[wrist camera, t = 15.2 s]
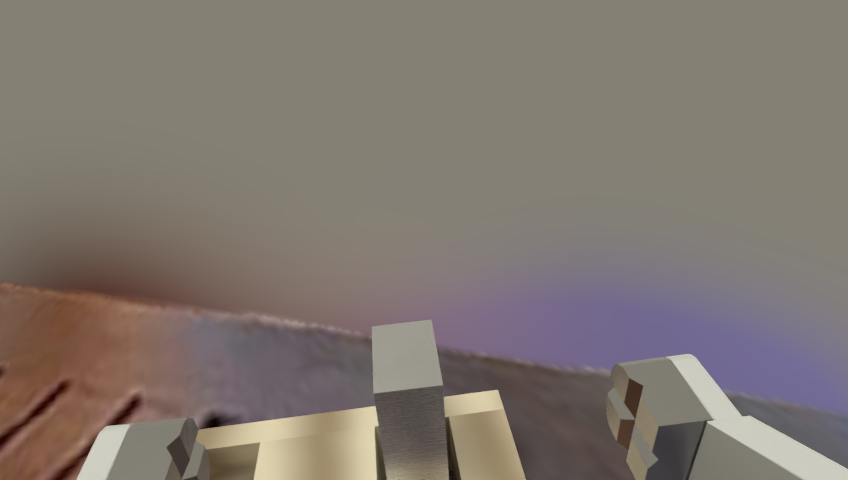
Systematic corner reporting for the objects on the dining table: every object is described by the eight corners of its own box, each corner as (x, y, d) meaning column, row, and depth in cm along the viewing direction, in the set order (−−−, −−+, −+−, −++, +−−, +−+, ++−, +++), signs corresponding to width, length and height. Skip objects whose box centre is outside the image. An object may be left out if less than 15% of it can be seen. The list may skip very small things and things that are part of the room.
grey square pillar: (400, 562, 30) (373, 393, 23) (395, 489, 34) (371, 326, 27) (454, 554, 30) (442, 385, 24) (443, 483, 34) (431, 319, 27)
